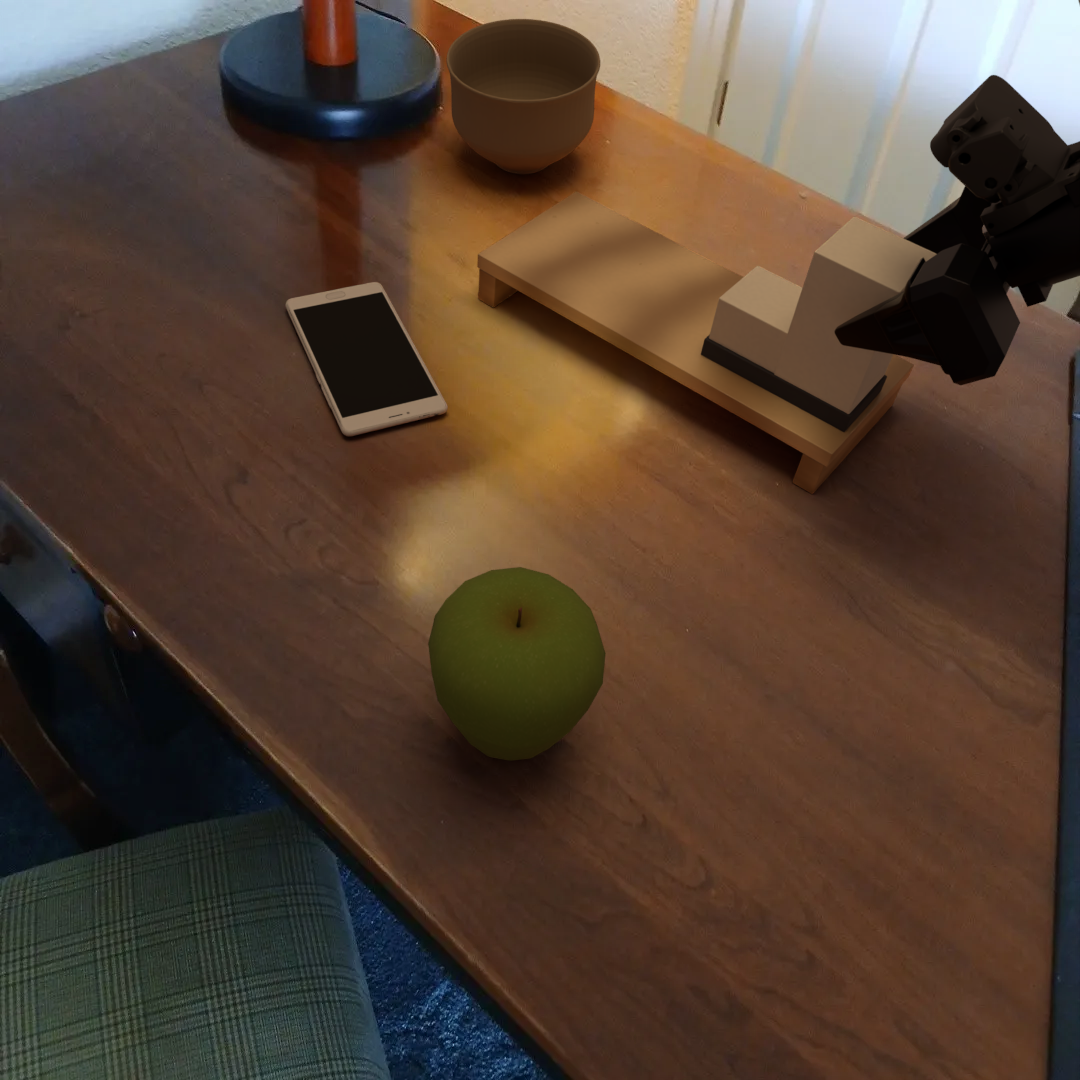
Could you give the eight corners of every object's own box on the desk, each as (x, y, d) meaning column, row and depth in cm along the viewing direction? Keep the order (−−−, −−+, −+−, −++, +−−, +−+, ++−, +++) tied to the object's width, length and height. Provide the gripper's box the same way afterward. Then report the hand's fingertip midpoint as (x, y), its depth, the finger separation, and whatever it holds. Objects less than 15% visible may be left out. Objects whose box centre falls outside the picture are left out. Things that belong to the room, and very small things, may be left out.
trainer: (881, 391, 71) (941, 254, 63) (844, 432, 68) (902, 294, 60) (740, 318, 75) (779, 180, 66) (700, 354, 72) (735, 214, 64)
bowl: (415, 160, 92) (414, 47, 84) (511, 111, 99) (518, 2, 91) (523, 221, 87) (531, 107, 80) (616, 166, 94) (632, 55, 86)
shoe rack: (895, 406, 76) (914, 364, 73) (814, 496, 70) (832, 454, 67) (571, 233, 87) (576, 190, 84) (475, 297, 80) (477, 253, 77)
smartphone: (380, 279, 80) (450, 408, 71) (380, 286, 80) (450, 415, 72) (282, 298, 77) (343, 434, 69) (283, 305, 78) (344, 441, 69)
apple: (617, 756, 56) (651, 635, 47) (482, 833, 53) (492, 718, 44) (530, 640, 61) (547, 509, 52) (400, 703, 57) (394, 575, 48)
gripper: (1111, -13, 56) (852, 118, 67) (1033, 133, 45) (739, 260, 56) (1182, 171, 60) (926, 265, 71) (1127, 346, 49) (835, 424, 60)
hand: (862, 297), depth 64 cm, fingers open, 9 cm apart
